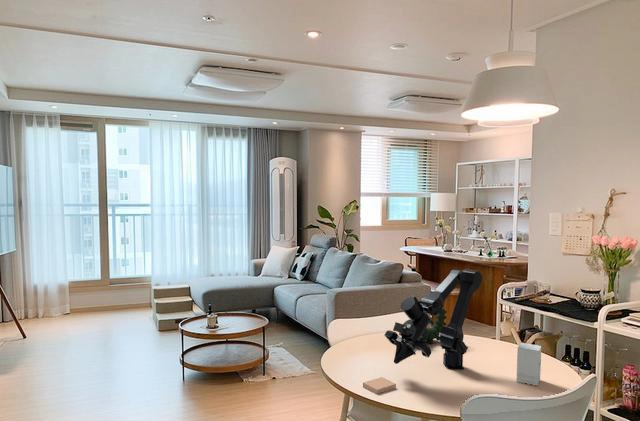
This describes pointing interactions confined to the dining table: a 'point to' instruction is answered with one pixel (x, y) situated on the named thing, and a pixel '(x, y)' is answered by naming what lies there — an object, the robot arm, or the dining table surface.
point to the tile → (379, 385)
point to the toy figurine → (433, 328)
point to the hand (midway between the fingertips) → (395, 363)
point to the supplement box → (528, 363)
